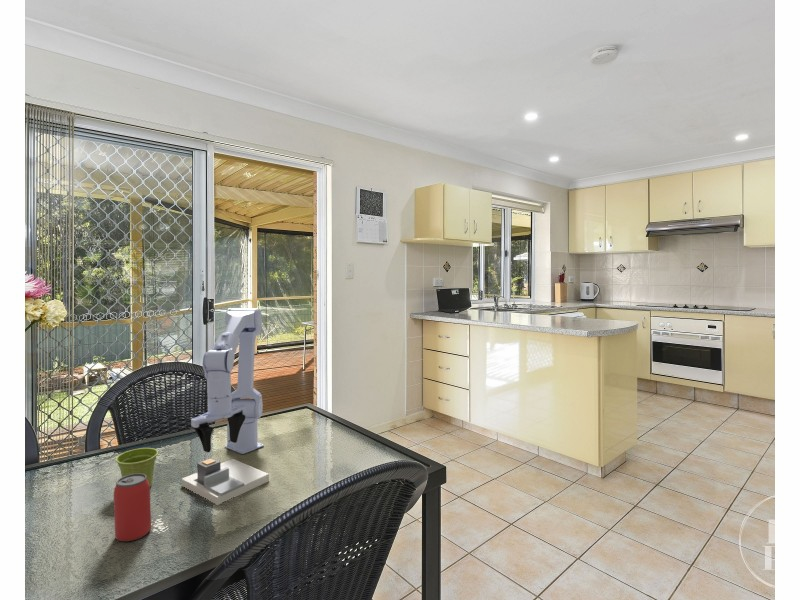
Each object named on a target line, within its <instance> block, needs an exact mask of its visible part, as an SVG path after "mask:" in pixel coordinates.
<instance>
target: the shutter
mask: <svg viewBox="0 0 800 600" xmlns="http://www.w3.org/2000/svg"><path fill="white" fill-rule="evenodd" d="M242 486H244V483H243V482H241V481H238V480H236V479H234V478H232V477H230V476H229V468H227V467H226V468H224V469H221V470H219V471H216V472H214V473H211V474H209V475H206V476H204V487H205V488H207V489H209V490H211V491H212V492H214V493H216V494H218V495H220V496H222V495H225V494H227V493H229V492H231V491H233V490H236V489H238V488H240V487H242Z"/></svg>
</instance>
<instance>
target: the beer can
mask: <svg viewBox="0 0 800 600" xmlns="http://www.w3.org/2000/svg"><path fill="white" fill-rule="evenodd" d="M150 489H151V487H150V485H149V482H148V480H147V476H146V475H145V474H140V473H137V474H130V475H127V476H124V477H122V476H121V477H120V478H119V479H117V480H116V481H115V487H114V490H113V510H114V512H113V513H114V536H115V537H114V538H116V539H117V541H120V542H124V543H125V542H126V543H127V542H133V541H137V540H139V539H142V537H145V536H146V535H147V534H148V533H149V532H150V531H151V528H152V519H151V518H152V513H151V490H150Z"/></svg>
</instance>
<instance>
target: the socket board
mask: <svg viewBox="0 0 800 600" xmlns="http://www.w3.org/2000/svg"><path fill="white" fill-rule="evenodd" d="M220 466H221V469H224V468H226V467H227V468H229V476H230V477H232V478H234V479H236V480H238V481H241V482H243V483H244V486H242V487H240V488H238V489H236V490H233V491H231V492H229V493H227V494H225V495H222V496H220V495H218V494H216V493H214V492H212V491H211V490H209V489H207V488H205V487H204V486H203V485H202V484H200V483H198V474H197V472H195V473H192V474H190V475H188V476H185V477H182V478H181V487H182V488H184V487H185V489H186V488H187V490H188V489H189V491H190V490H191V491H190V492H192V491H193V492H192V493H194V494H195V493H196V495H197V494H199V495H200V496H199V495H198V496H199V497H201V496H202V497H201V498H203V497H204V498H203V499H205V498H206V499H205V500H207V499H208V500H209V501H208V500H207V501H208V502H210V501H211V502H210V503H212V502H213V503H212V504H214V503H215V504H214V505H215V506H216V505H217V506H219V505H221V504H223V503H222V502H224V501H226V500H228V501H230V500H232V499H234V498H236V497H238V496H240V495H242V494H245V493H247V492H249V491H251V490H253V489H256V488H258V487H259V486H262V485H264V484H266V483H268V482H269V481H270V474H269V473H268V472H265V471H262V470H260V469H258V468H255V467H253V466H251V465H249V464H246V463H243V462H241V461H239V460H237V459H235V458H232V459H229V460H226V461H224V462H220ZM233 497H234V498H233ZM231 498H232V499H231ZM229 499H230V500H229ZM226 502H227V501H226ZM220 503H221V504H220ZM224 503H225V502H224ZM218 504H219V505H218Z"/></svg>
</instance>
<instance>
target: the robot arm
mask: <svg viewBox="0 0 800 600" xmlns="http://www.w3.org/2000/svg"><path fill="white" fill-rule="evenodd" d="M224 320H225V321H224V322H225V325H226V329H225V330H224V332H222V333H220V334H219V336H218V337H217V338H216V340H215V343H214V344H213V346H212V348H211V349H209V350H208V351H206V352H205V353H203V356H202V357H203V358H202V371H203V372H204V373H203V374H204V379H205V380H206V392H207V396H206V397H207V412H205V413H203V414H200V415H198V416H196V417H193V418H191V419H190V424H191V425H190V426H191V428H193V430H194V431H195V432H196V435H197V436H198V438H199V440H200V443H201V446H202V449H203V451H204V452H206V453H211V450H212V444H211V443H212V441H211V440H212V433H213V427H211V426H210V425H209V424H210V423H214V422H216V421H217V422H218V421H221V420H223V419H227V422H228V423H227V424H226V441H227V443H226V444H225V445H224V447H225V449H229V450H231V451H233V452H236V453H238V454H240V455H244V454H247V453H250V452H252V451H255V450H257V449H260V448H262V447H264V446H265V445H264V444H263V443H261V442H259V437H258V436H259V435H258V434H259V433H258V432H259V431H258V420H260V418H261V417H262V415H263V409H264V407H263V406H264V405H263V404H264V403H263V395H262V394H261V392H260V391H258V390H257V389H256V388H254V375H255V374H254V371H255V352H256V351H255V350H256V349H255V346H256V344H255V343H256V337H257V336H259V335H261V333H262V331H263V330H262V327H263V314H262V311H261V309H260V308H259V307H256V308H251V307H250V308H248V307H247V308H246V307H245V308H244V307H243V308H240V307H239V308H238V307H234V308H233V307H229V308H227V310H226V312H225V315H224ZM237 349H238V361H237V362H238V365H237V366H238V367H237V387H236V389H235V390H234V391H232V382H231V380H232V378H231V375H232V374H231V373H232V370H233V368H234V363H235V353H236V351H237Z"/></svg>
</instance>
